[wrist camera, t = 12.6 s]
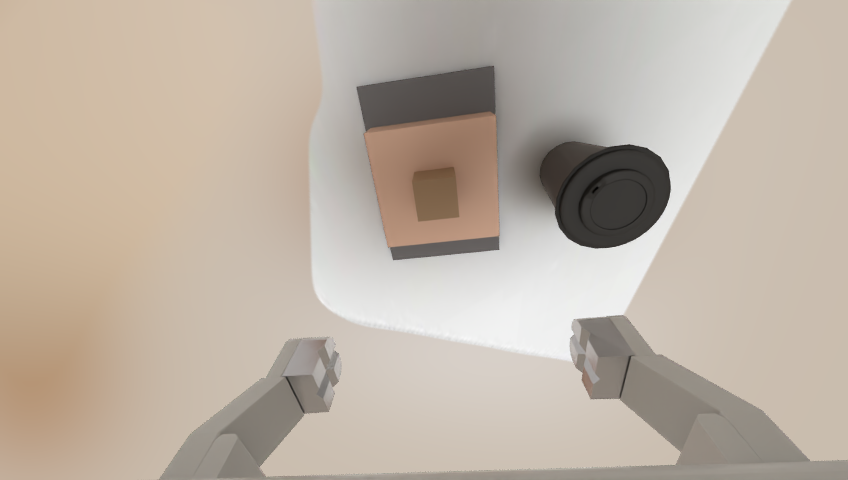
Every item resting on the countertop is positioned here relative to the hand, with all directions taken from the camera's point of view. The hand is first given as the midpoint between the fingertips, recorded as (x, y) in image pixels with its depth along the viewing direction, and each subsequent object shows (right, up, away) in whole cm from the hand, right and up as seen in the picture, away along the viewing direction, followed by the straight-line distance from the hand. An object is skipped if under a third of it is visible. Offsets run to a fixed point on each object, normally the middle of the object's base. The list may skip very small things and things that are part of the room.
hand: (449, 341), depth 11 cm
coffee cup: (+13, +11, +21) cm, 27 cm away
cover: (0, +8, +18) cm, 20 cm away
